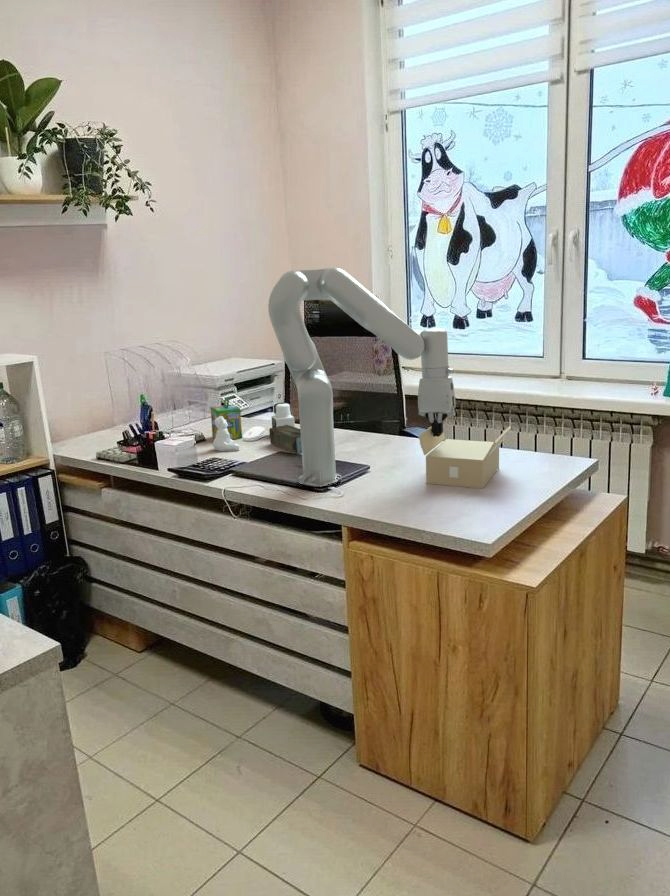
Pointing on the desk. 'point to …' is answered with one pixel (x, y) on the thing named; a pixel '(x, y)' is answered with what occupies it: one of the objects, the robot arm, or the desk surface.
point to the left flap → (429, 440)
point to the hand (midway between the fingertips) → (437, 435)
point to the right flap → (497, 442)
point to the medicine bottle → (282, 415)
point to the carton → (461, 463)
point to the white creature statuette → (223, 437)
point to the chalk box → (227, 419)
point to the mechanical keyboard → (124, 457)
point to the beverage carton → (286, 438)
